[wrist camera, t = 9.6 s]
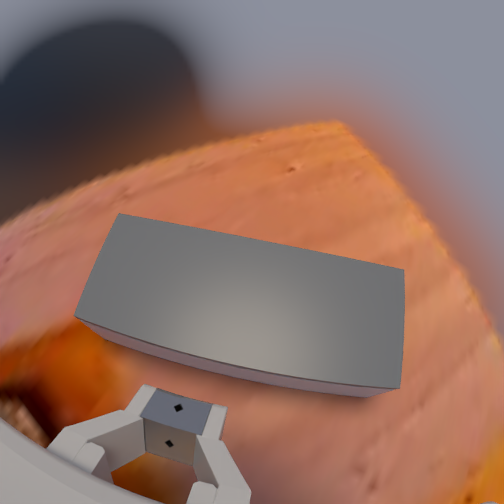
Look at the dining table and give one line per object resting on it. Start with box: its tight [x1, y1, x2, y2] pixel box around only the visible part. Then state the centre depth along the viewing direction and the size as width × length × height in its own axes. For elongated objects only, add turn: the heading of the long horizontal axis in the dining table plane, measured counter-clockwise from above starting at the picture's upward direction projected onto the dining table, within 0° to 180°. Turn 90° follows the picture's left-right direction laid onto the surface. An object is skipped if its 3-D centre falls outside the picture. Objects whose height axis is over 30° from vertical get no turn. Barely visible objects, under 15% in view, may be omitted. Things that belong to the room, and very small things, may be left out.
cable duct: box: [80, 320, 393, 398], centre depth 28 cm, size 28×11×6 cm, turn 78°
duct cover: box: [74, 213, 405, 389], centre depth 25 cm, size 28×11×1 cm, turn 78°
